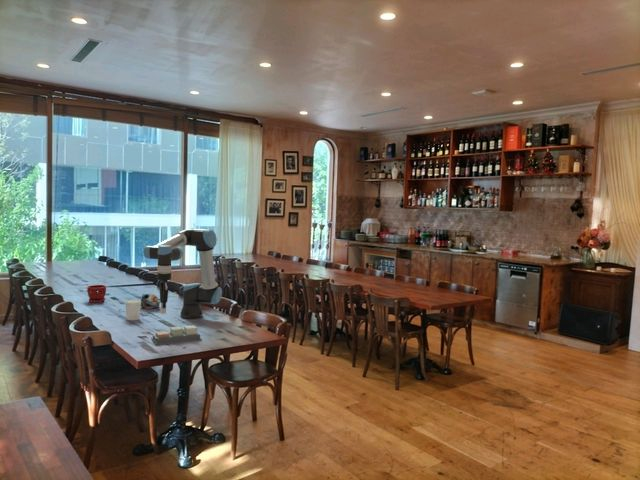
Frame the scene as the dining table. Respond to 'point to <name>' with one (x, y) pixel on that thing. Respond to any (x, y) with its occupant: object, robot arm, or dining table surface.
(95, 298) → the plant pot
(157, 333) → the terracotta tile
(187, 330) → the ivory tile
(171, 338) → the button board
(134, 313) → the candle holder
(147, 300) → the mottled brown lump
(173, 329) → the sage tile
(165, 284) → the robot arm
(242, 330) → the dining table surface
